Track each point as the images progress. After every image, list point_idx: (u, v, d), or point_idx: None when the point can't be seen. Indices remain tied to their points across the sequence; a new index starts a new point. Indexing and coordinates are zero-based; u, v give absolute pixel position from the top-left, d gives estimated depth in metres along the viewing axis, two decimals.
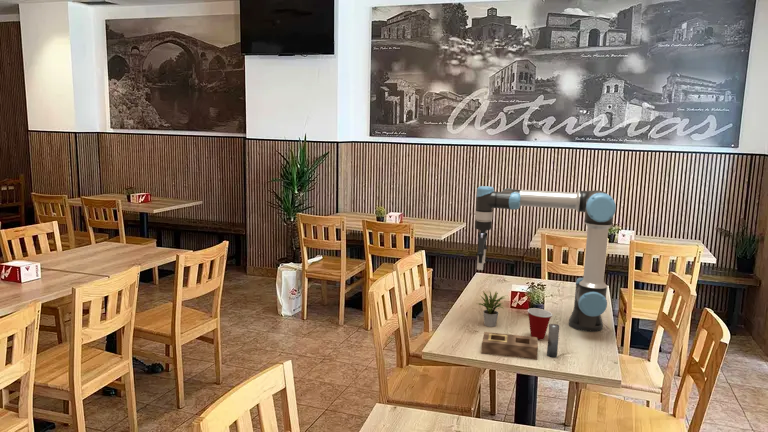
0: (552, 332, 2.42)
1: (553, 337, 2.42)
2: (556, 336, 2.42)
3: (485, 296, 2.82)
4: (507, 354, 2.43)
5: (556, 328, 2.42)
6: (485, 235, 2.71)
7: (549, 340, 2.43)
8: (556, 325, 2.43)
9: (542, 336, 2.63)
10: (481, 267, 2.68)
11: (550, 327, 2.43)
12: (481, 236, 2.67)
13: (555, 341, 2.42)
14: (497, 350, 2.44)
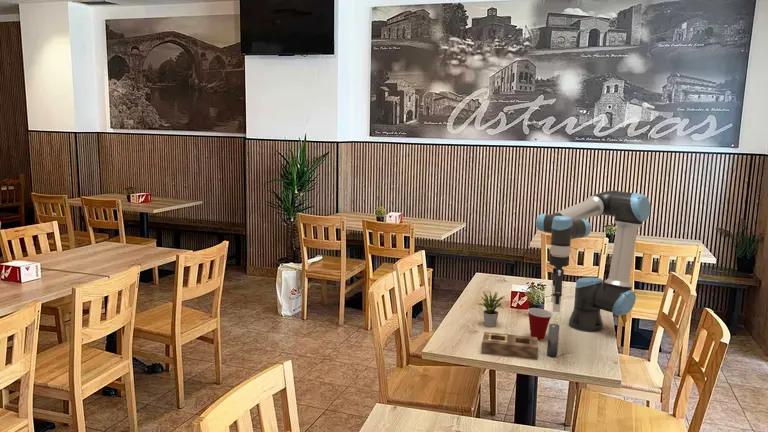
0: (552, 332, 2.42)
1: (553, 337, 2.42)
2: (556, 336, 2.42)
3: (485, 296, 2.82)
4: (507, 354, 2.43)
5: (556, 328, 2.42)
6: None
7: (549, 340, 2.43)
8: (556, 325, 2.43)
9: (542, 336, 2.63)
10: (558, 309, 2.35)
11: (550, 327, 2.43)
12: (558, 274, 2.33)
13: (555, 341, 2.42)
14: (497, 350, 2.44)
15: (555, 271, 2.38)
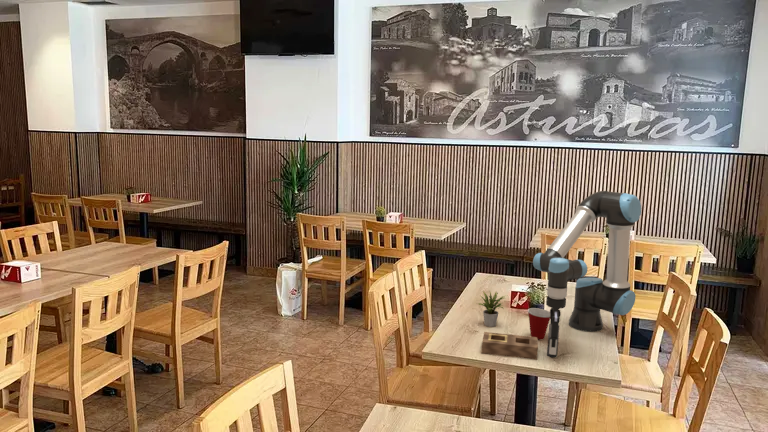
0: None
1: None
2: None
3: (485, 296, 2.82)
4: (507, 354, 2.43)
5: None
6: (558, 314, 2.40)
7: (549, 340, 2.43)
8: None
9: (542, 336, 2.63)
10: (554, 352, 2.42)
11: (550, 327, 2.43)
12: (555, 320, 2.37)
13: None
14: (497, 350, 2.44)
15: (552, 313, 2.41)
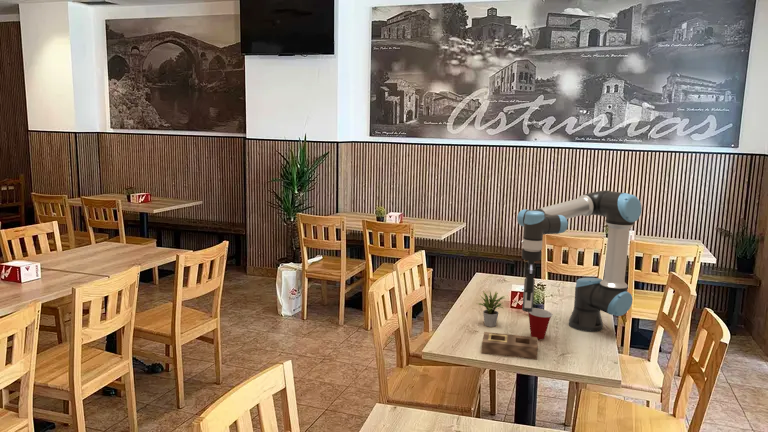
0: None
1: None
2: None
3: (485, 296, 2.82)
4: (507, 354, 2.43)
5: None
6: (534, 267, 2.40)
7: (524, 294, 2.43)
8: None
9: (542, 336, 2.63)
10: (529, 305, 2.41)
11: (525, 281, 2.42)
12: (530, 272, 2.36)
13: None
14: (497, 350, 2.44)
15: (527, 266, 2.40)
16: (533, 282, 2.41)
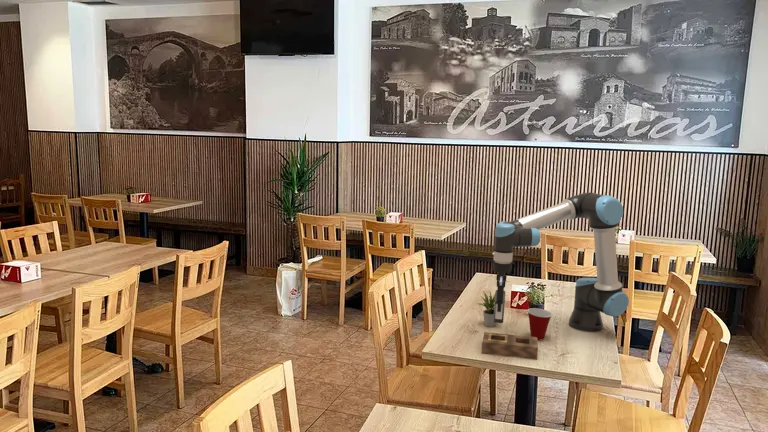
0: None
1: None
2: None
3: (485, 296, 2.82)
4: (507, 354, 2.43)
5: None
6: (504, 279, 2.43)
7: (495, 306, 2.46)
8: None
9: (542, 336, 2.63)
10: (500, 316, 2.45)
11: (496, 293, 2.45)
12: (500, 284, 2.39)
13: None
14: (497, 350, 2.44)
15: None
16: (503, 294, 2.45)
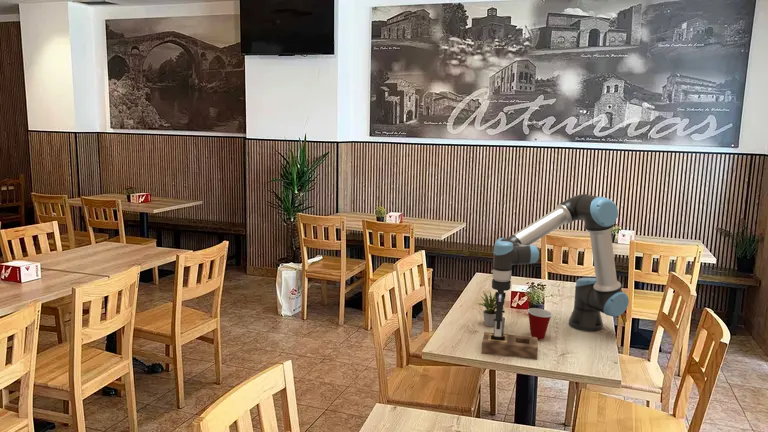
0: None
1: None
2: None
3: (485, 296, 2.82)
4: (507, 354, 2.43)
5: None
6: (503, 296, 2.44)
7: None
8: (502, 318, 2.49)
9: (542, 336, 2.63)
10: (499, 333, 2.44)
11: None
12: (499, 300, 2.40)
13: None
14: (497, 350, 2.44)
15: (497, 295, 2.45)
16: (503, 321, 2.47)
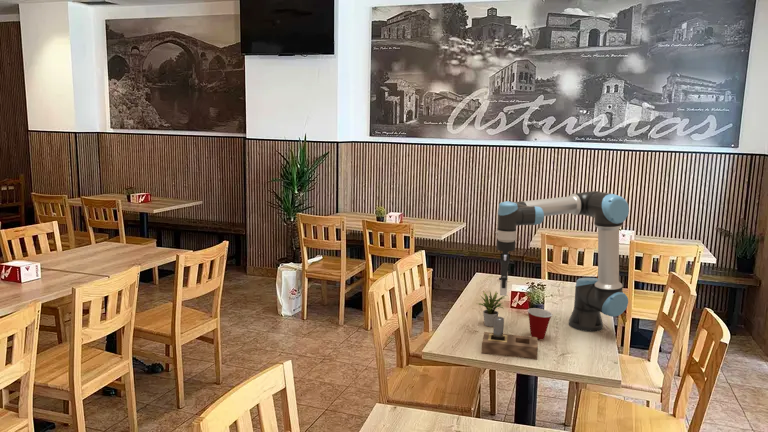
0: (497, 325, 2.47)
1: (498, 330, 2.47)
2: (501, 329, 2.47)
3: (485, 296, 2.82)
4: (507, 354, 2.43)
5: (501, 321, 2.47)
6: (508, 257, 2.44)
7: (494, 333, 2.48)
8: (501, 318, 2.48)
9: (542, 336, 2.63)
10: (504, 292, 2.41)
11: (495, 320, 2.48)
12: (504, 258, 2.39)
13: (500, 333, 2.47)
14: (497, 350, 2.44)
15: (502, 256, 2.44)
16: (502, 321, 2.47)
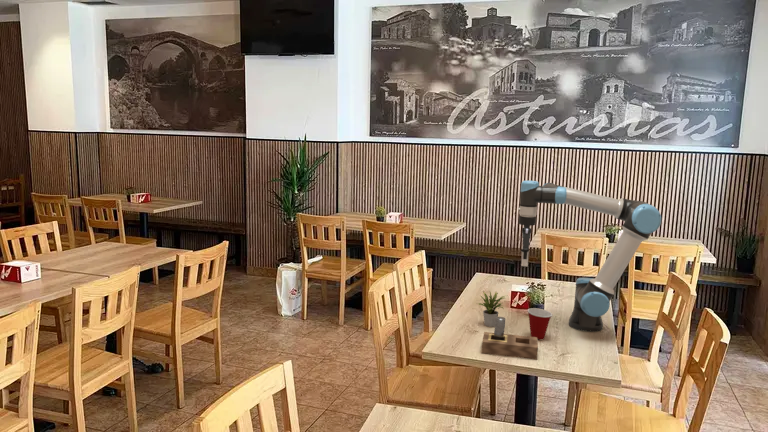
0: (499, 325, 2.47)
1: (499, 330, 2.47)
2: (502, 329, 2.47)
3: (485, 296, 2.82)
4: (507, 354, 2.43)
5: (502, 321, 2.46)
6: (529, 231, 2.65)
7: (495, 333, 2.48)
8: (502, 318, 2.48)
9: (542, 336, 2.63)
10: (526, 263, 2.62)
11: (497, 320, 2.47)
12: (526, 231, 2.60)
13: (501, 333, 2.47)
14: (497, 350, 2.44)
15: (523, 230, 2.65)
16: (504, 321, 2.47)
